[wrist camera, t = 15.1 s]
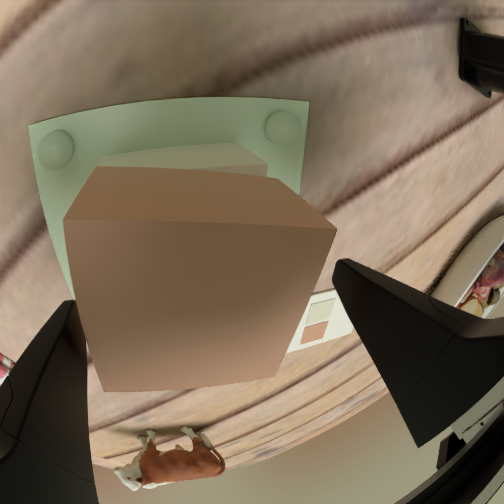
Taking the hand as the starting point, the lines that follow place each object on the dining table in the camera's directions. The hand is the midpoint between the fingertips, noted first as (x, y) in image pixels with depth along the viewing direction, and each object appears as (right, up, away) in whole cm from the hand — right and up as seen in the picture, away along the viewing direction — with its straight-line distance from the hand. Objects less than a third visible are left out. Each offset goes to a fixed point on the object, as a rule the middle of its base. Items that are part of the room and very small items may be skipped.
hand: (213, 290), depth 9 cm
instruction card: (+7, -5, +15) cm, 17 cm away
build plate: (-3, +4, +5) cm, 7 cm away
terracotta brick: (-2, +1, +2) cm, 3 cm away
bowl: (+36, -4, +27) cm, 45 cm away
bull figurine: (-10, -21, +20) cm, 31 cm away
